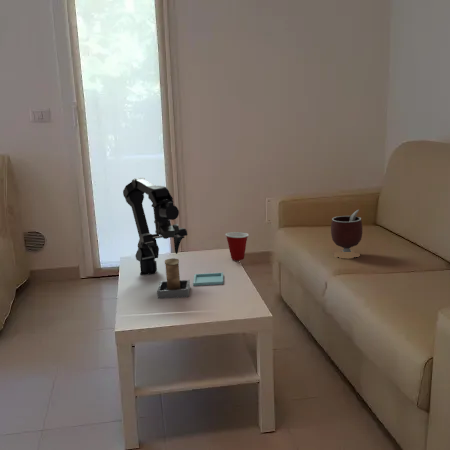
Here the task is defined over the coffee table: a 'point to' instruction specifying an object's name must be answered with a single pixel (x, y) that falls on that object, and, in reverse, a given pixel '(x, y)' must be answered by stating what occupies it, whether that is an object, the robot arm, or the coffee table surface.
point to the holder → (175, 293)
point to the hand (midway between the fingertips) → (165, 255)
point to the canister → (172, 274)
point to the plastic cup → (237, 244)
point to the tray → (208, 279)
